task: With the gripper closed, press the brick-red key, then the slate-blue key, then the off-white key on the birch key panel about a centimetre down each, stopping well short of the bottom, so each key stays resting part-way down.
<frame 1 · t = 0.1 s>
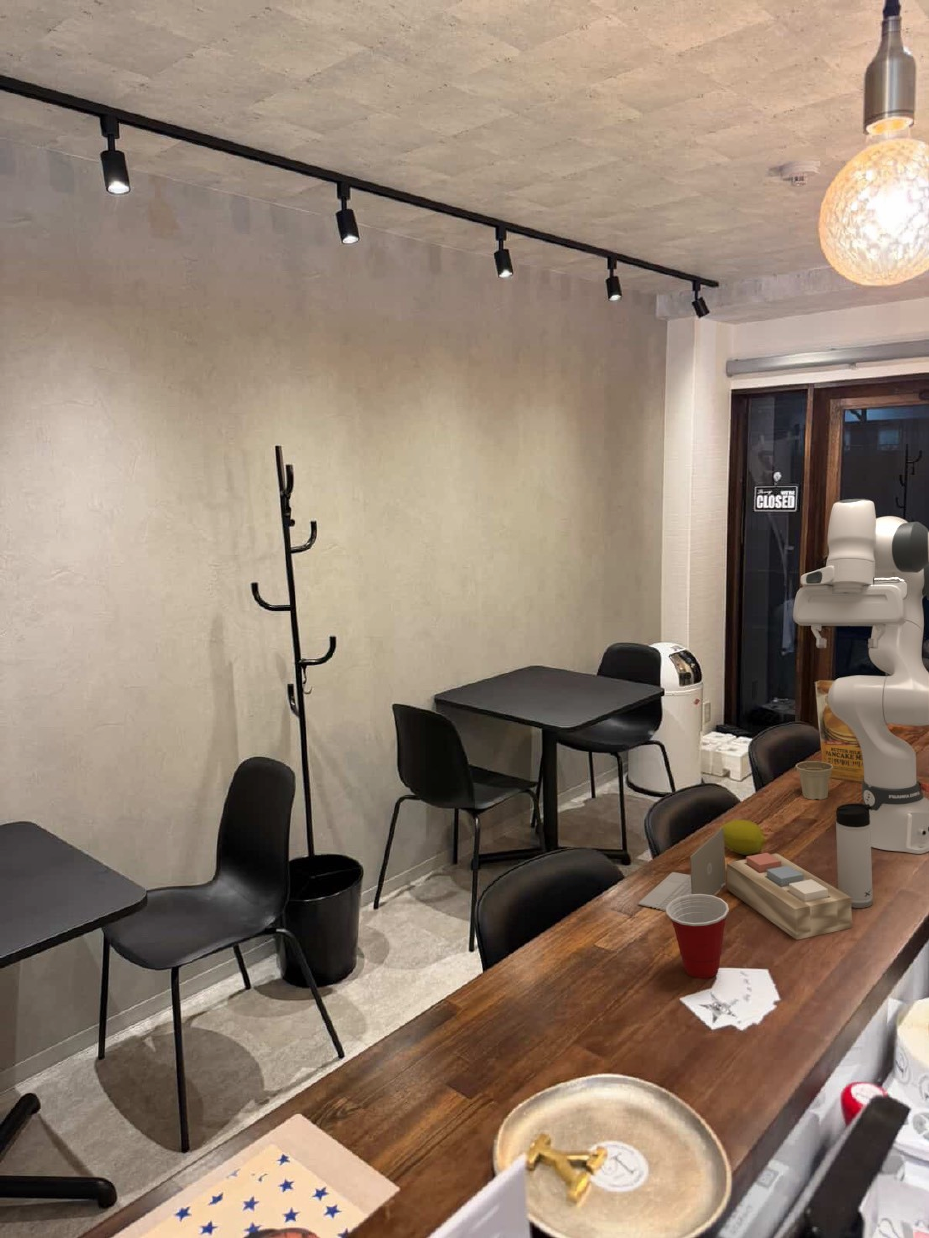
hand: (846, 648, 170), 52 cm above the counter, tool tilted 20°, fingers open, 8 cm apart
laptop: (683, 896, 187), on the counter
lemon: (743, 854, 206), on the counter
slate key: (785, 879, 177), point 6 cm above the counter, slide at 0.0 cm
plastic cup: (700, 971, 156), on the counter
travel mug: (856, 902, 177), on the counter
key panel: (786, 907, 177), on the counter
pancake mix bag: (850, 778, 253), on the counter
white key: (808, 893, 169), point 6 cm above the counter, slide at 0.0 cm
flower pot: (815, 797, 240), on the counter
red key: (763, 865, 184), point 6 cm above the counter, slide at 0.0 cm
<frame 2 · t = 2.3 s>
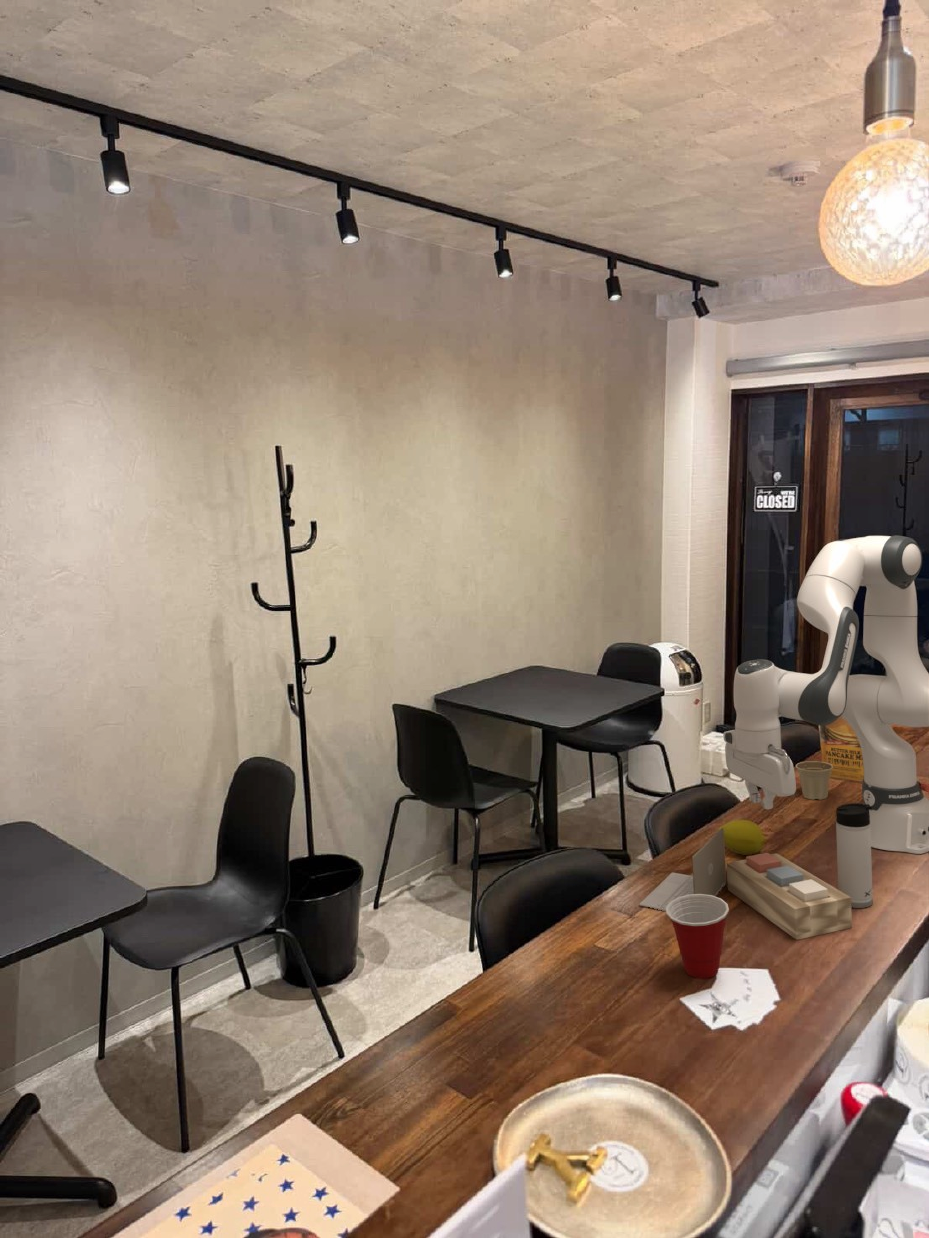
hand: (761, 804, 182), 19 cm above the counter, tool pointing down, fingers open, 3 cm apart
nothing on the counter moved.
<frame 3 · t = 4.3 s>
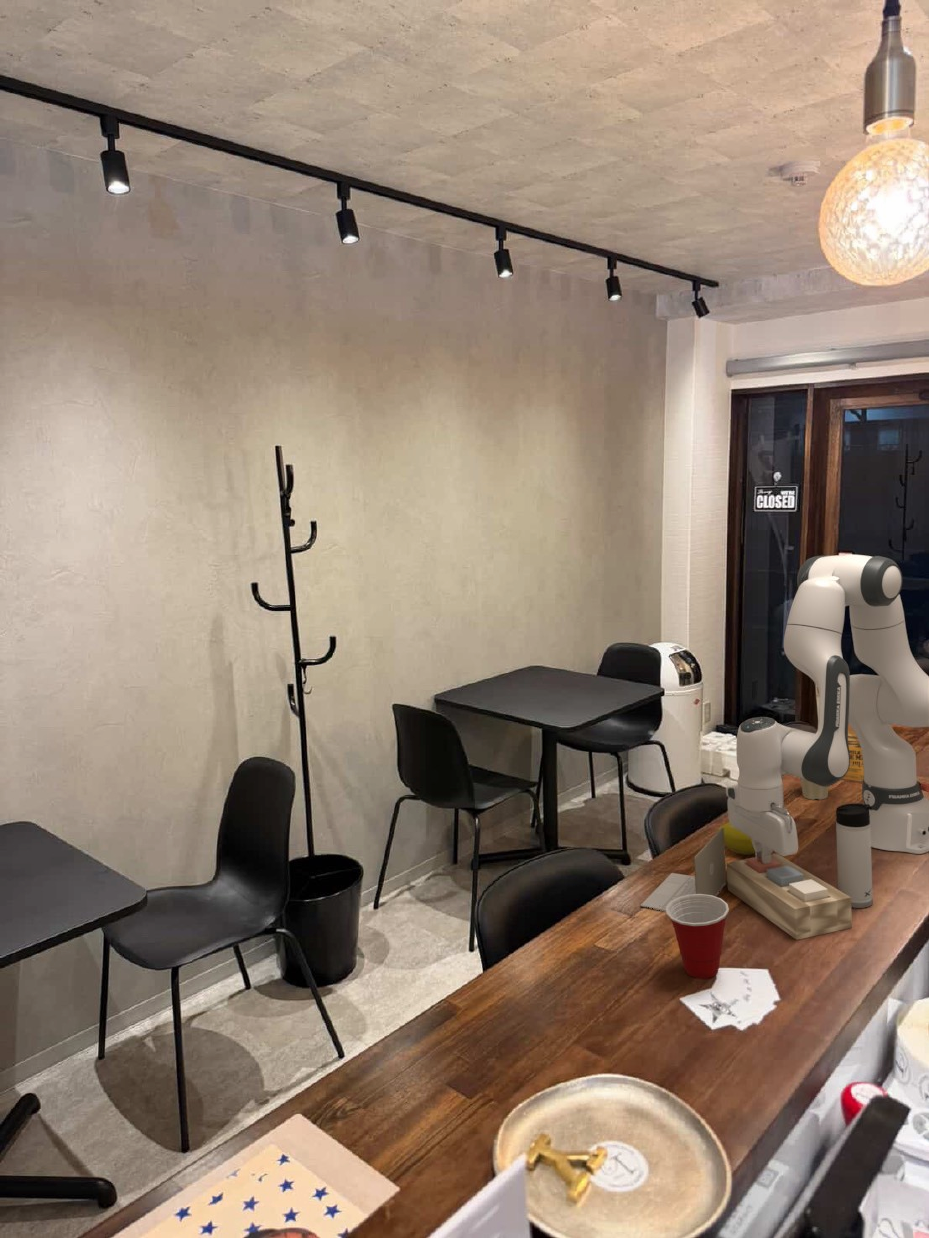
hand: (763, 861, 184), 7 cm above the counter, tool pointing down, fingers closed, pressing on red key
red key: (763, 867, 184), point 6 cm above the counter, slide at 0.5 cm, touching gripper
everything else where it was.
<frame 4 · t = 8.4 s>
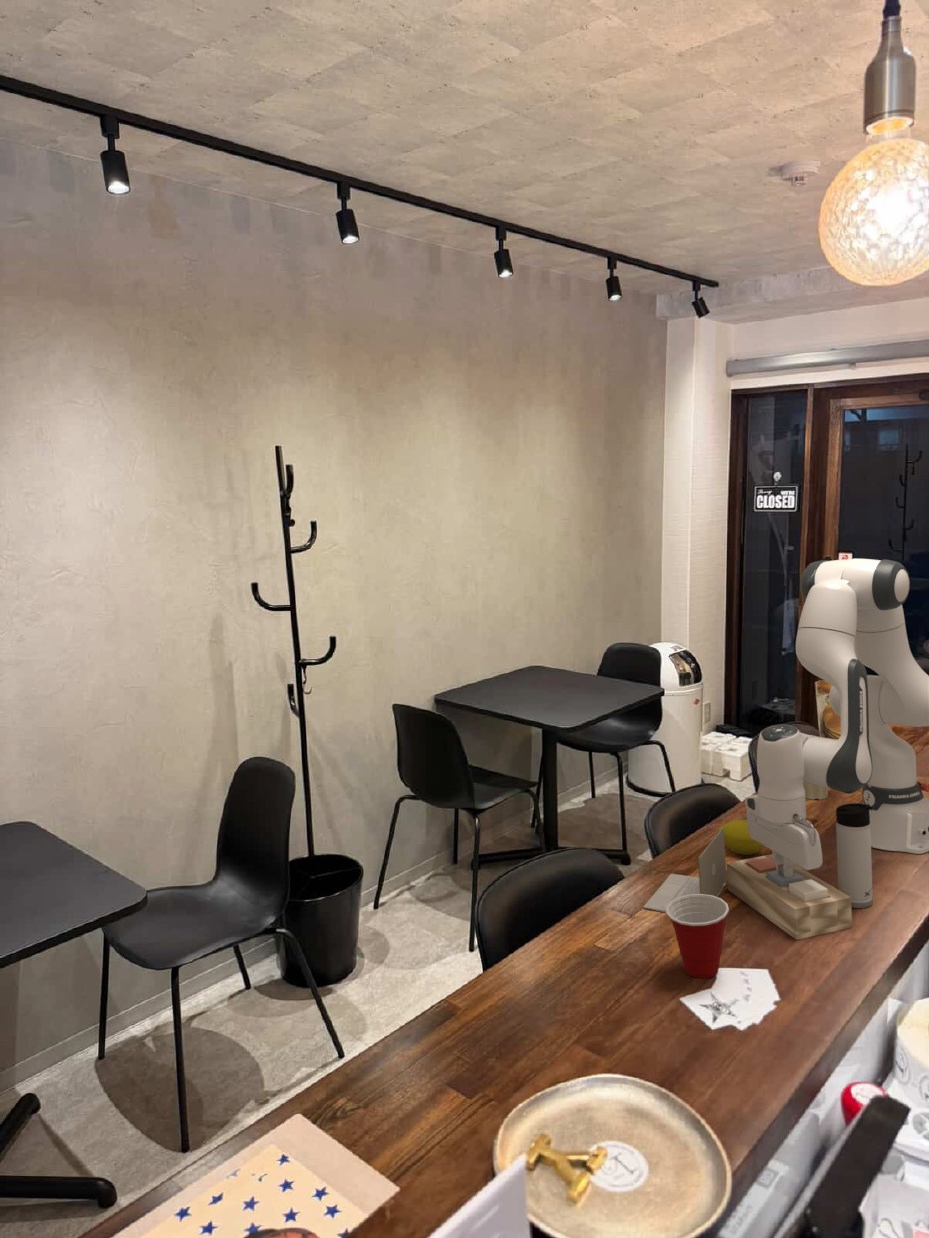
hand: (784, 874, 176), 7 cm above the counter, tool pointing down, fingers closed, pressing on slate key
slate key: (785, 881, 177), point 5 cm above the counter, slide at 0.5 cm, touching gripper
red key: (764, 870, 184), point 5 cm above the counter, slide at 1.1 cm
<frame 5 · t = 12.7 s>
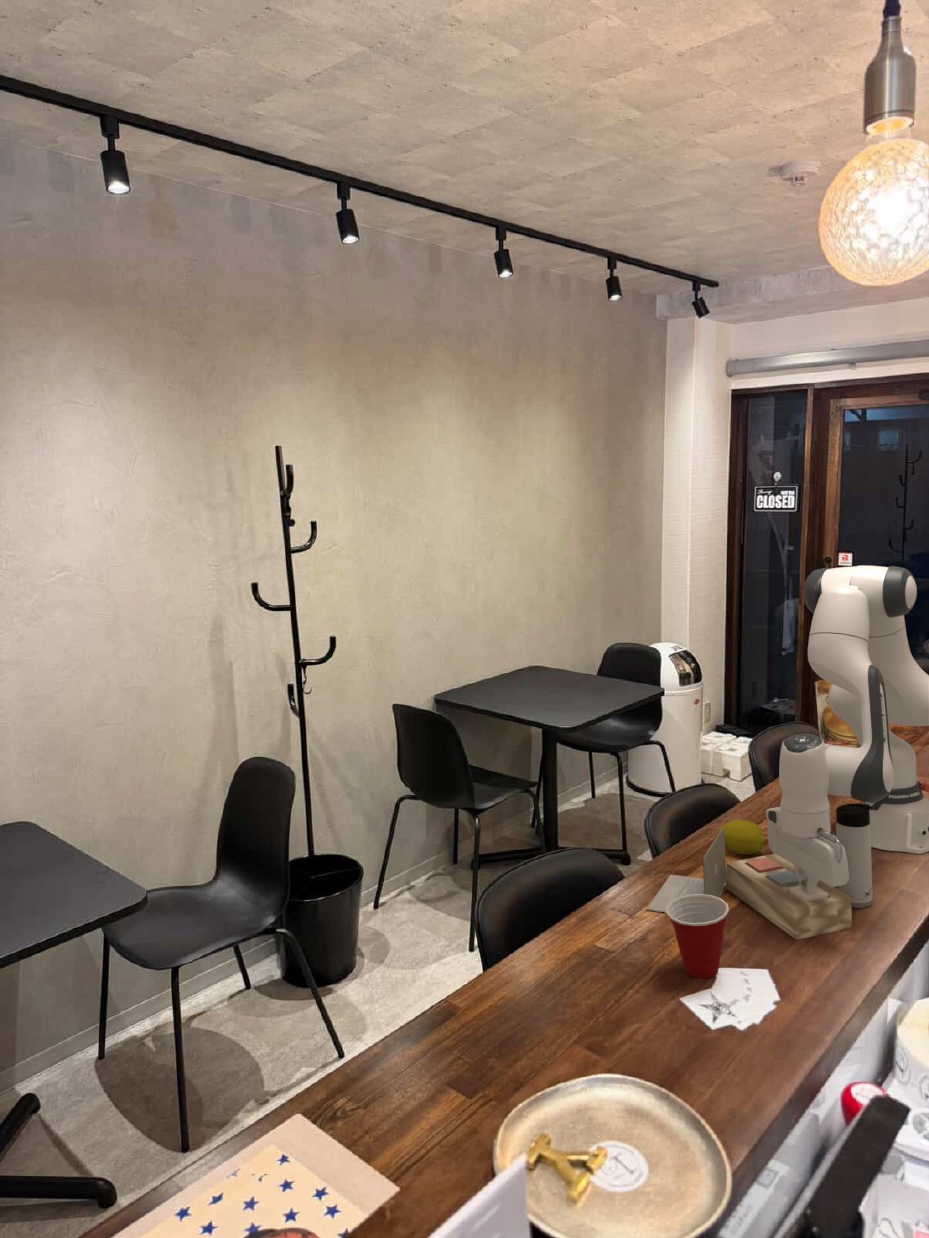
hand: (808, 890, 169), 7 cm above the counter, tool pointing down, fingers closed, pressing on white key
slate key: (785, 884, 177), point 5 cm above the counter, slide at 1.0 cm
white key: (808, 897, 169), point 5 cm above the counter, slide at 0.8 cm, touching gripper
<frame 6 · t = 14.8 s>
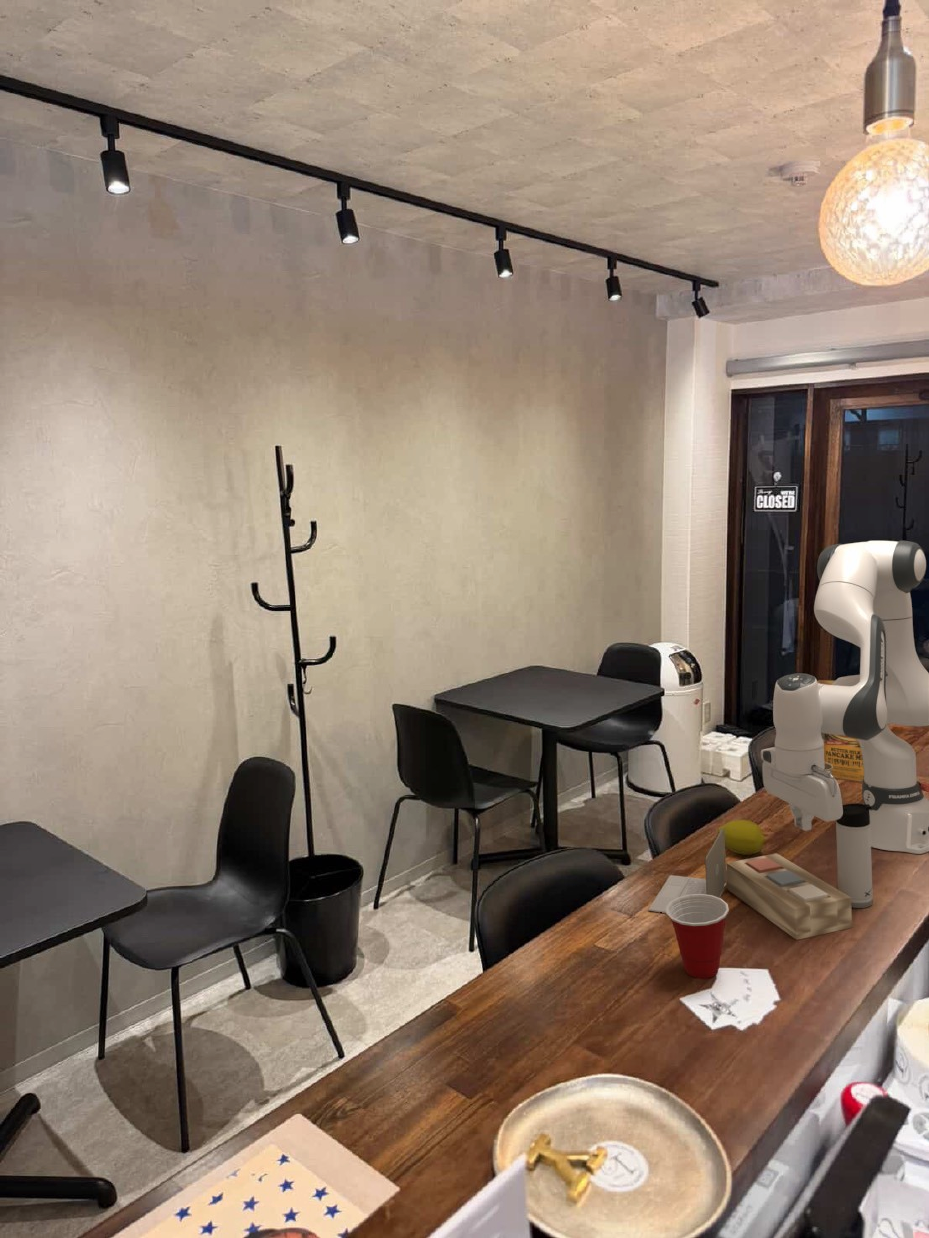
hand: (803, 827, 171), 18 cm above the counter, tool pointing down, fingers closed
white key: (808, 898, 169), point 5 cm above the counter, slide at 1.0 cm
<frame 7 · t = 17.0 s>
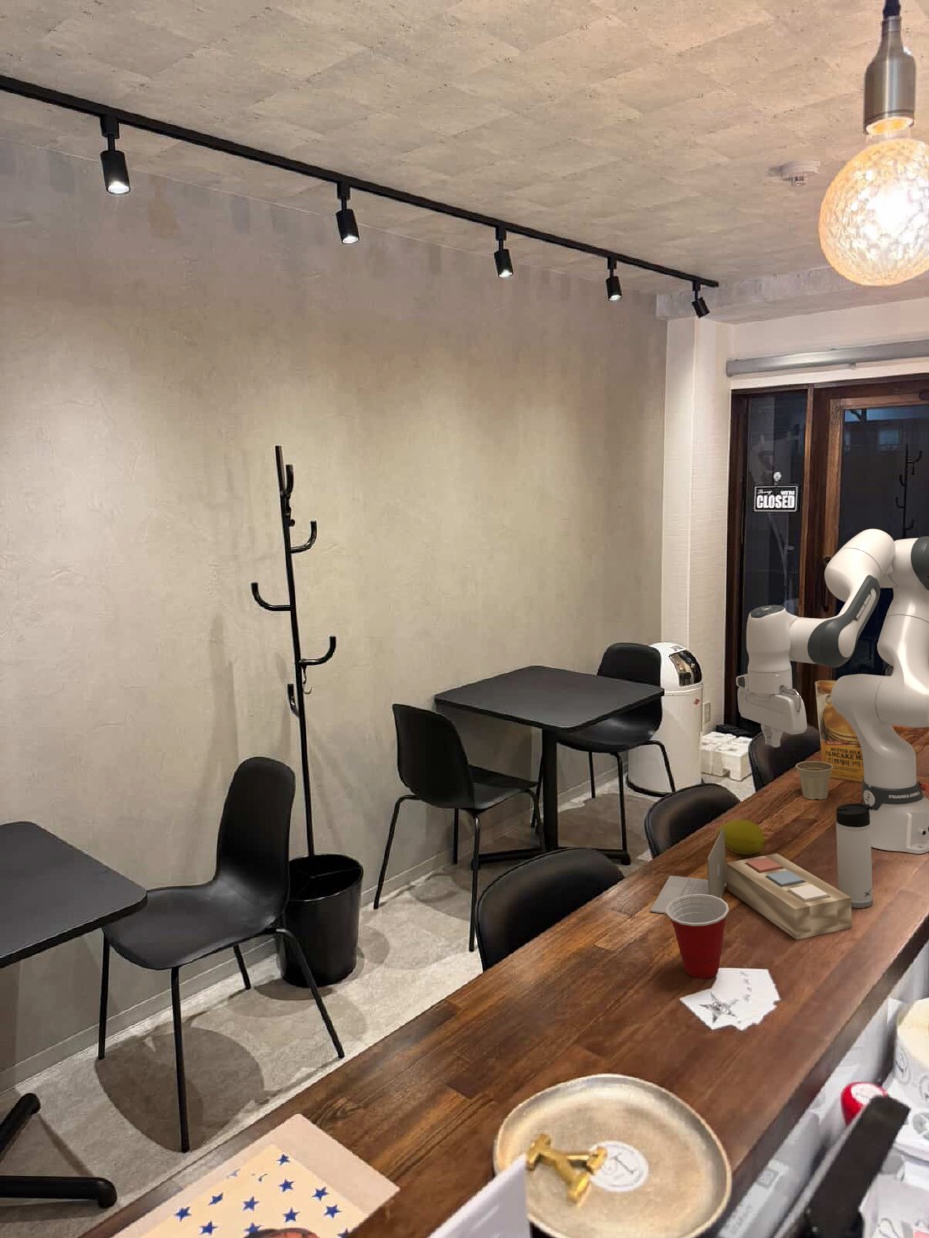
hand: (772, 745, 189), 29 cm above the counter, tool pointing down, fingers closed
at the end: red key slide at 1.1 cm; slate key slide at 1.0 cm; white key slide at 1.0 cm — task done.
